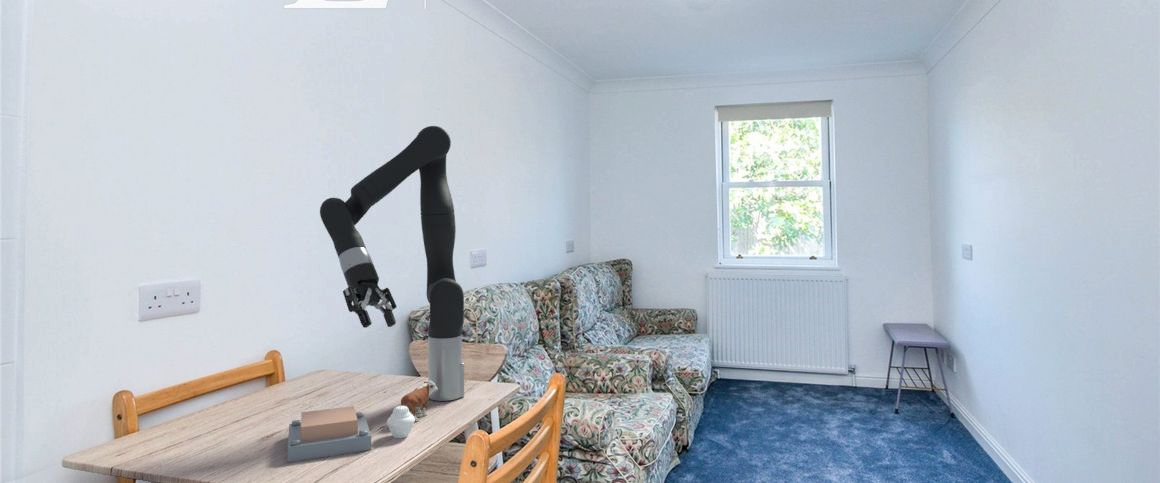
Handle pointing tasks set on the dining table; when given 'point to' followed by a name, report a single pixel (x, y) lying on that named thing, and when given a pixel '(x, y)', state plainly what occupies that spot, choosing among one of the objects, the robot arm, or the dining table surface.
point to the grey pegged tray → (328, 434)
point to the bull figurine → (419, 398)
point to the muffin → (400, 422)
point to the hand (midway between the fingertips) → (380, 325)
